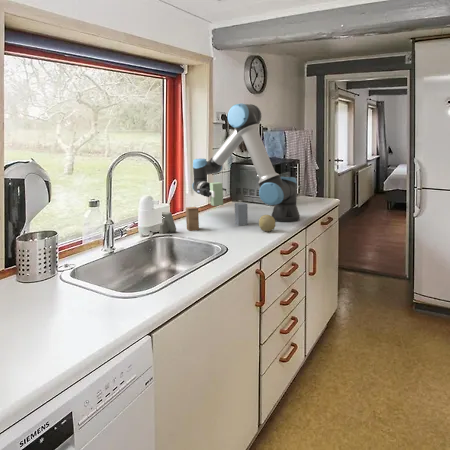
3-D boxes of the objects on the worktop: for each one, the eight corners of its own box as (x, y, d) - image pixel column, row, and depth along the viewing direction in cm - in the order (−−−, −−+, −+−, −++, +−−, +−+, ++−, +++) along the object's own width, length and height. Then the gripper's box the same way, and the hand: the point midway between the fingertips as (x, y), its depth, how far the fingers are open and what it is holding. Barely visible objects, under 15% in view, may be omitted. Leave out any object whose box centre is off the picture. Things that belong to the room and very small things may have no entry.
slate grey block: (235, 224, 230) (234, 203, 228) (244, 223, 232) (243, 202, 230) (238, 225, 226) (238, 204, 223) (247, 224, 227) (247, 203, 225)
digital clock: (178, 232, 216) (177, 210, 214) (163, 235, 210) (162, 213, 207) (158, 227, 227) (157, 207, 225) (143, 230, 221) (142, 209, 219)
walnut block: (186, 229, 222) (185, 207, 220) (196, 228, 224) (195, 206, 221) (189, 231, 217) (188, 209, 215) (199, 230, 219) (198, 208, 217)
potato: (258, 229, 216) (258, 213, 214) (274, 229, 215) (274, 213, 214) (259, 233, 208) (259, 216, 207) (275, 233, 208) (275, 216, 206)
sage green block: (210, 204, 224) (209, 182, 221) (219, 203, 225) (219, 182, 223) (213, 205, 219) (212, 183, 217) (223, 205, 221) (222, 183, 218)
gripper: (221, 194, 241) (237, 200, 220) (190, 197, 235) (202, 203, 214) (221, 180, 240) (236, 185, 218) (189, 183, 234) (201, 187, 212)
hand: (219, 194), depth 216 cm, fingers closed on sage green block, 5 cm apart
